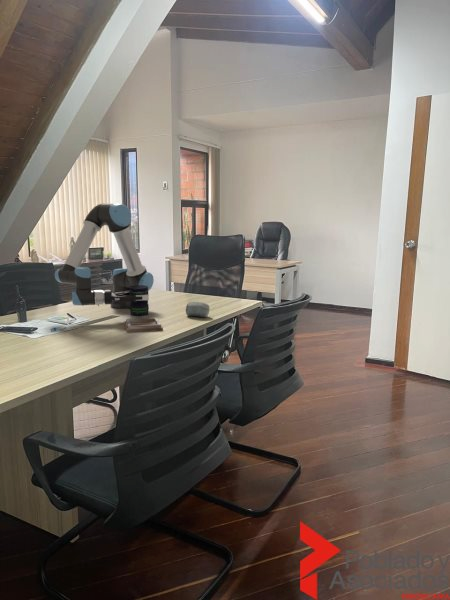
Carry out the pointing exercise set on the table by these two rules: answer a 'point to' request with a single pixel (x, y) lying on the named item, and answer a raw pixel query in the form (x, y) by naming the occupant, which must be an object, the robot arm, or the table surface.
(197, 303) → the spool
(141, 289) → the rusty blue barrel
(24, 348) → the table surface
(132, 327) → the cradle plate
